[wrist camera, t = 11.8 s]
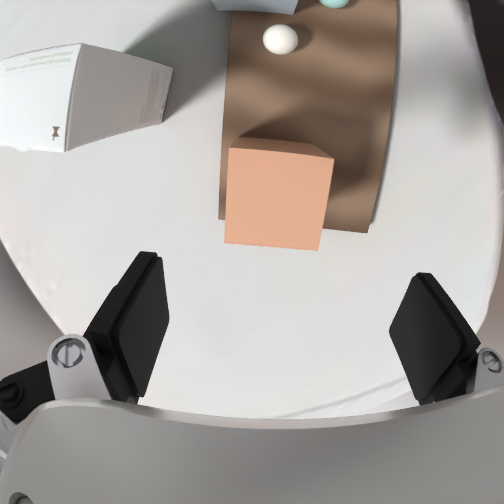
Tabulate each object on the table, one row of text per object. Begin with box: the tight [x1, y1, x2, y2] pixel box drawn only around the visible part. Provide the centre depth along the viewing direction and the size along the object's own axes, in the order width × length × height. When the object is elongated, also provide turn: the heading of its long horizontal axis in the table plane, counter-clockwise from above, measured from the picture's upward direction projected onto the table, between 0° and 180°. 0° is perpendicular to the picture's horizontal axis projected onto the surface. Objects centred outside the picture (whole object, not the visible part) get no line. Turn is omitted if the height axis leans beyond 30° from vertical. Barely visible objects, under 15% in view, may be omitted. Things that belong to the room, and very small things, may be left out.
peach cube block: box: [224, 137, 334, 251], centre depth 22 cm, size 7×7×8 cm
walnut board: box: [218, 0, 397, 233], centre depth 22 cm, size 30×16×2 cm, turn 176°
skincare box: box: [0, 43, 173, 152], centre depth 16 cm, size 8×7×16 cm
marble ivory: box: [263, 24, 298, 55], centre depth 18 cm, size 3×3×3 cm
